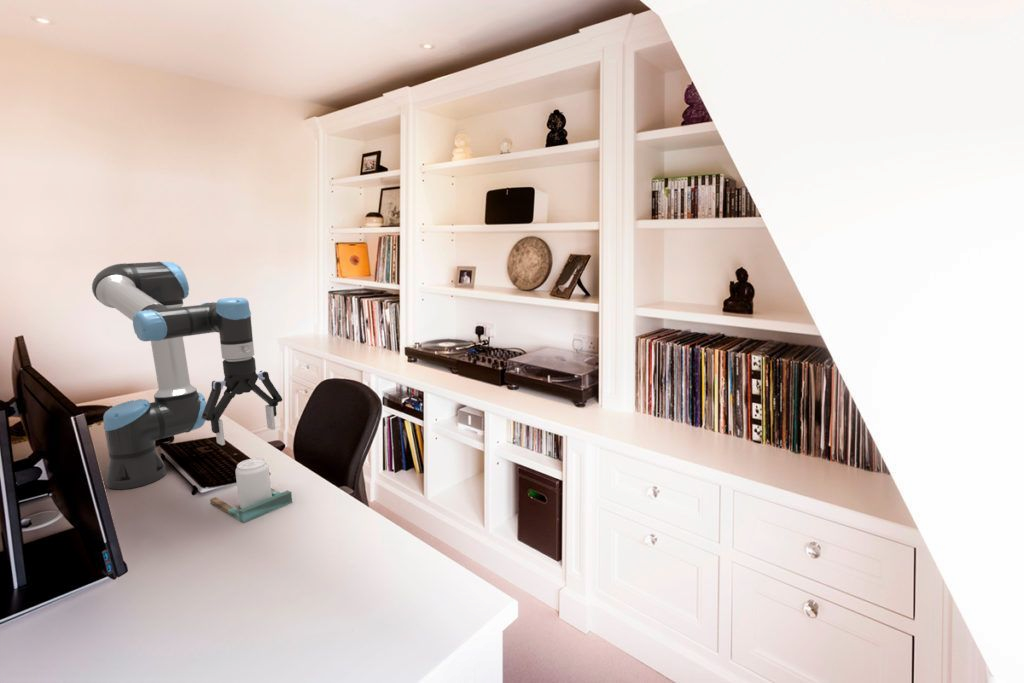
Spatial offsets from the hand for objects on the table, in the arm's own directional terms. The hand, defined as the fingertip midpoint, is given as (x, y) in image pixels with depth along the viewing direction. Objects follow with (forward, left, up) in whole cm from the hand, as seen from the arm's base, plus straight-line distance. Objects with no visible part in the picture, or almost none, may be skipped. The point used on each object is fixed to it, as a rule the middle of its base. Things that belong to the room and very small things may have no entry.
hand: (247, 436), depth 145 cm
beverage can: (0, 0, -20) cm, 20 cm away
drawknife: (-2, 0, -20) cm, 20 cm away
